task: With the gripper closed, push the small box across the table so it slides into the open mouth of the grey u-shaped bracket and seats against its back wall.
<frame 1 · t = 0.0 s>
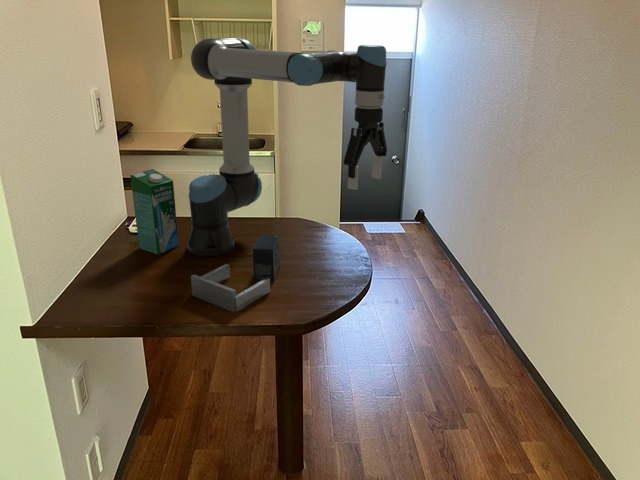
hand: (364, 183, 149), 28 cm above the table, fingers open, 13 cm apart
milk carton: (159, 247, 175), on the table
small box: (266, 274, 158), on the table
grey u-shaped bracket: (232, 292, 147), on the table
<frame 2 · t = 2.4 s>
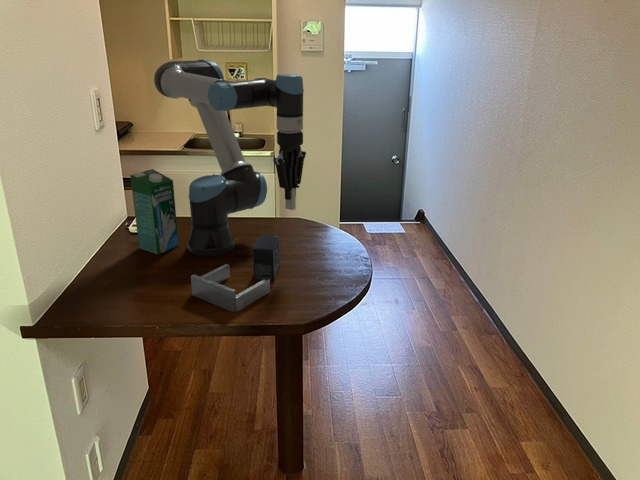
hand: (290, 208, 160), 17 cm above the table, fingers closed
nothing on the table moved.
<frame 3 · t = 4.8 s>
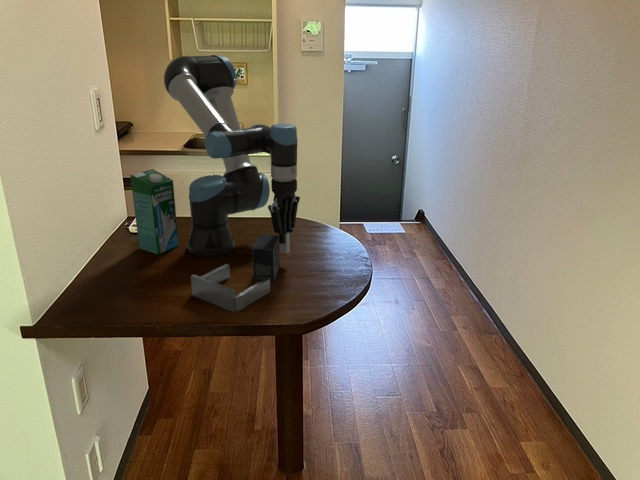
hand: (284, 251, 163), 4 cm above the table, fingers closed
small box: (266, 274, 158), on the table, touching gripper
everything else where it was.
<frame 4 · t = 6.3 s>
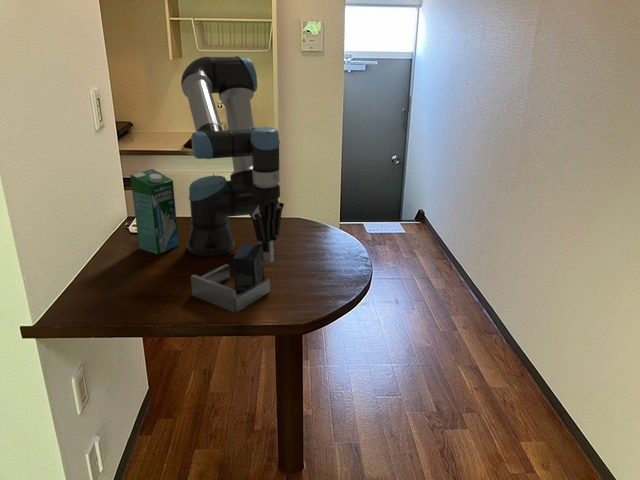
hand: (268, 260, 157), 4 cm above the table, fingers closed
small box: (249, 284, 152), on the table, touching gripper
everything else where it was.
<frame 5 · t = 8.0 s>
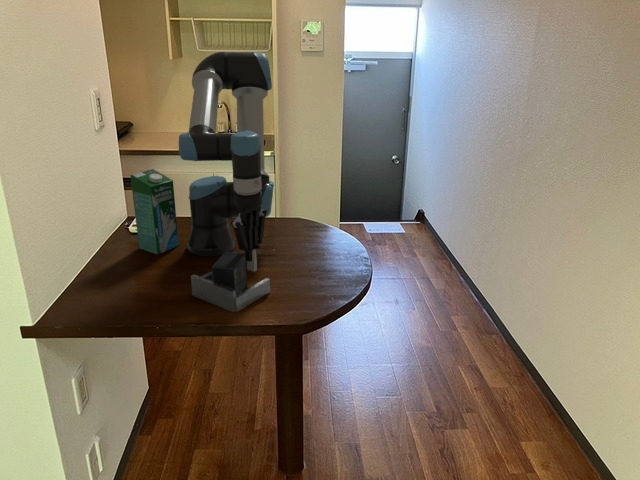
hand: (252, 269, 151), 4 cm above the table, fingers closed
small box: (230, 294, 146), on the table, touching grey u-shaped bracket, gripper
everything else where it was.
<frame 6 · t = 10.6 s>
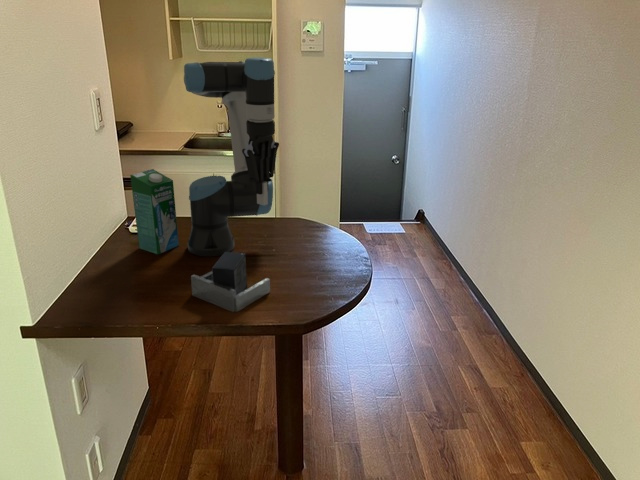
hand: (262, 203, 149), 22 cm above the table, fingers closed
small box: (231, 294, 146), on the table
everything else where it was.
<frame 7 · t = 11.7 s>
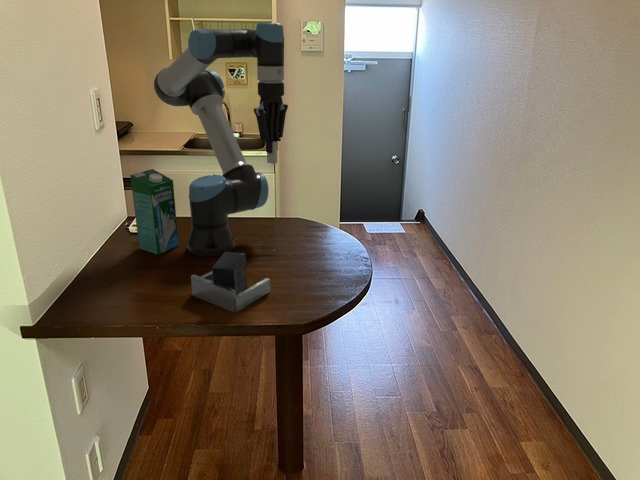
hand: (272, 162, 159), 30 cm above the table, fingers closed
nothing on the table moved.
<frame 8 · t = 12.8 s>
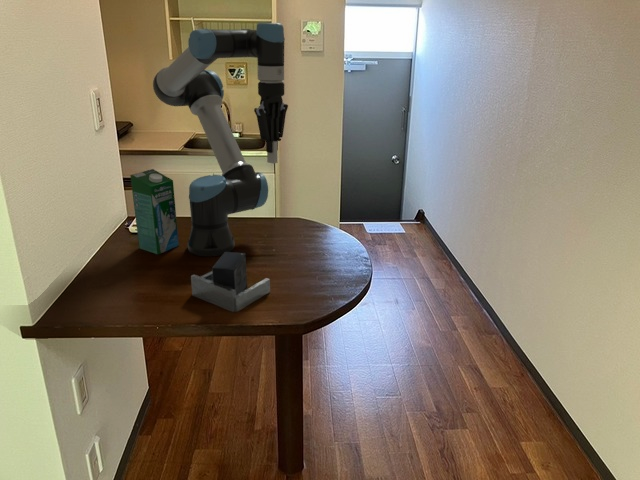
hand: (272, 162, 159), 30 cm above the table, fingers closed
nothing on the table moved.
at the end: small box inside the target area on the grey u-shaped bracket (0.5 cm from its centre), point 0.0 cm above the grey u-shaped bracket's base; small box tilted 0° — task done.
